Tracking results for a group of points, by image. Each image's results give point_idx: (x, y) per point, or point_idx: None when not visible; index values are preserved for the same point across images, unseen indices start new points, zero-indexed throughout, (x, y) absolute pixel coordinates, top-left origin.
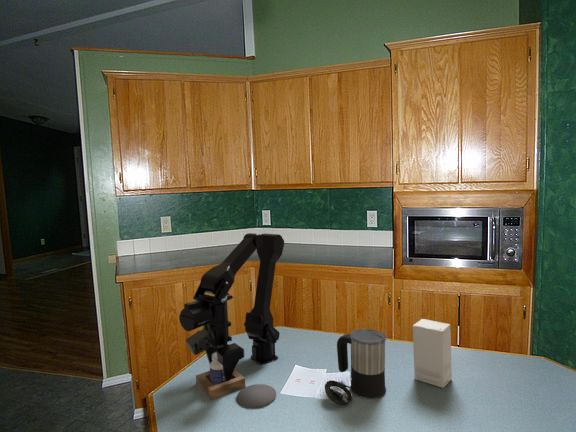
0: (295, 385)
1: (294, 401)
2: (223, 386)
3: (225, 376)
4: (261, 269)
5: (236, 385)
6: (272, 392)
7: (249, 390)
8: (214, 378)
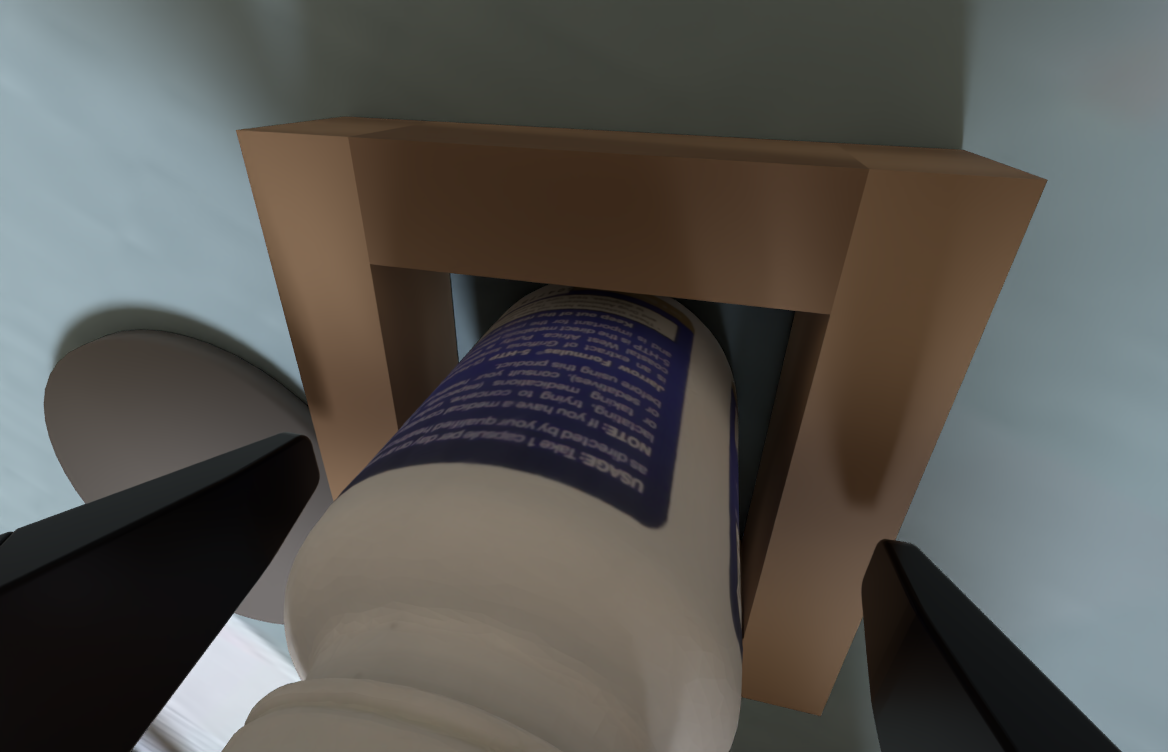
0: (267, 694)
1: None
2: (299, 353)
3: (176, 473)
4: None
5: None
6: None
7: None
8: (471, 365)
